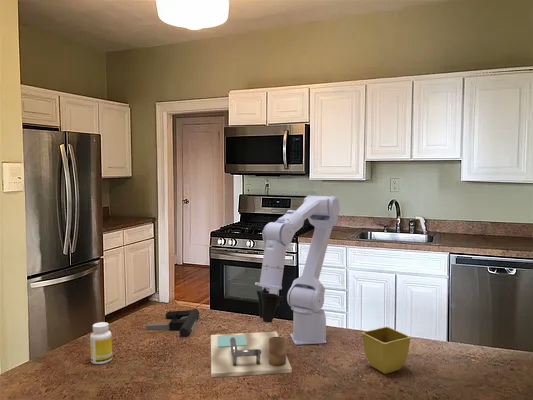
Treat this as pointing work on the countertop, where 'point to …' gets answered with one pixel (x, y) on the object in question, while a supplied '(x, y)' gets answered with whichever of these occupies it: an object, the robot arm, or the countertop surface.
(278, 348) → the walnut cylinder
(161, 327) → the door handle
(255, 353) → the bent wire
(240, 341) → the pad
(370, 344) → the flower pot
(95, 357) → the supplement bottle
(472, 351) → the countertop surface
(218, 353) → the birch board
